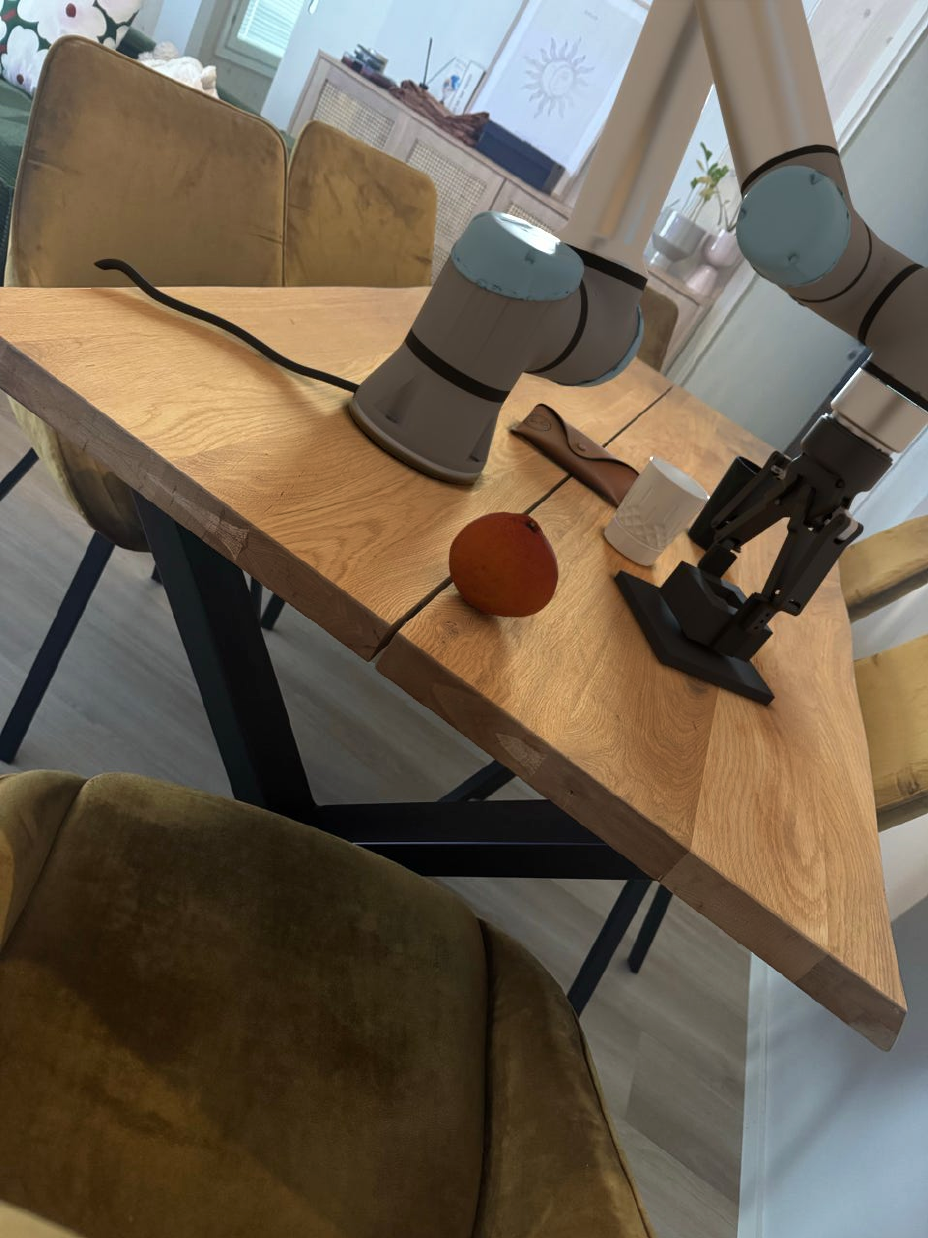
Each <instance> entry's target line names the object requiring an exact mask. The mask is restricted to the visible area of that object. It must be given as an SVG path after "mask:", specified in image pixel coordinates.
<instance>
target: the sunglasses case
mask: <svg viewBox="0 0 928 1238" xmlns="http://www.w3.org/2000/svg"><path fill="white" fill-rule="evenodd" d="M510 430H511V432H513V433H515V434H516V435H518V436H519V437H521V438H523V439H524V440H526V442H528V443H530V444H531V445H532V446H534V447H535V448H536V449H538V450H539V451H540V452H541V453H542V454H544V455H545V456H546V457H548V458H549V459H551V460H552V461H553V462H554V463H556V464H557V465H558V466H560V467H561V468H562V469H563V470H565V471H566V472H567V473H569V474H570V475H571V476H573V477H574V478H575V479H576V480H577V481H578V482H580V483H581V484H583V485H585V486H586V487H587V488H589V489H590V490H592V491H593V492H595V493H596V494H598V495H599V496H601V497H603V498H605V499H607V500H609V501H610V502H612V503H613V504H615V505H616V506H618V507H619V506H620V504H621V502H622V501H623V499H624V498H625V496H626V495H627V493H628V491H629V490H630V488H631V487H632V485H633V484H634V482H635V481H636V479H637V478H638V476H639V475H640V472H639V471H638V470H637V469H636V468H635V467H634V466H632V465H630V464H629V463H627V462H625V461H624V460H621V459H619V458H618V457H616V456H615V455H614V454H612V452H610V451H608V450H607V449H606V448H604V447H603V446H601V444H599V443H598V442H596V441H595V440H593V438H591V437H589V436H588V434H585V433H584V432H583V431H581V430H579V429H578V428H577V427H575V426H574V425H572V424H571V423H570V422H569V421H567V420H565V419H564V418H563V417H562V416H561V415H560V414H559V413H558V412H557V411H556V410H555V409H554V408H552V407H551V406H549V405H548V404H545V403H542V402H541V403H538V404H536V405H535V406H534V407H533V408H532V409H531V410H530V412H529V413H528V414H527V415H526V416H525V417H524V419H522V421H521V422H520V423H519V424H517V425H516V426H515V425H514V426H513V427H511V428H510Z"/></svg>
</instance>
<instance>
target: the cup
mask: <svg viewBox="0 0 928 1238" xmlns="http://www.w3.org/2000/svg"><path fill="white" fill-rule="evenodd" d="M762 468H763V467H761V466H760V465H758V464H757V463H756V462H753V461H752V460H750V459H749V458H746V457H744V456H742V455H736V456H735V457H734V459H733V460H732V462H731V463H730V465H729V467H728V469H726V472H725V473H724V474H723V476H722V478H721V479H720V480H719V482H718V484H717V485H716V487H715V488H714V490H713V491H712V493H711V495H709V497H710V499H709V500H708V502H707V503H706V504H705V505H704V506H703V507H702V509H701V510H700V511H699V512H698V513H699V514H697V515H696V516H697V517H696V518H695V520H693V523H692V524H691V525H690V527H689V529H688V531H687V535H688V536H689V538H690V539H691V540H692V541H693V542H694V543H695V544H696V545H698V546H699V547H700V548H701V549H702V550H704V551H705V552H706V551H707V550H708V549H709V548H710V546H711V545H712V544H713V543H714V536H715V534H716V532H715V529H714V528H712V527H711V522H712V520H713V519H714V518H715V517H716V516H717V515H718V514H719V512H720V511H721V510H722V509H723V508H724V507H725V506H726V505H727V504H728V503H729V502H730V501H731V500H732V499H733V498H734V497H735V496H736V495H737V494H738V493H739V492H740V491H741V490H742V489H743V488H744V487H745V486H746V485H747V484H748V483H749V482H750V481H751V480H752V479H753V478H754V477H755V476H756V475H757V474H758V473H759V472H760V471H761V469H762ZM727 522H729V523H730V522H731V521H730V520H727Z"/></svg>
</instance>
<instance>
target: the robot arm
mask: <svg viewBox="0 0 928 1238" xmlns="http://www.w3.org/2000/svg"><path fill="white" fill-rule="evenodd" d="M713 87H714V88H715V92H716V96H717V101H718V105H719V108H720V114H721V117H722V122H723V125H724V129H725V134H726V138H727V142H728V146H729V150H730V151H729V152H730V155H731V158H732V163H733V167H734V171H735V175H736V181H737V184H738V189H739V191H740V195H741V200H742V202H741V204H740V207H739V210H738V214H737V216H736V217H737V218H736V223H735V237H736V241H737V246H738V248H739V251H740V252H741V254H742V256H743V257H744V259H745V260H746V261H747V262H748V264H749V265H750V267H751V268H752V269H753V271H754V272H755V273H756V274H757V275H759V276H760V277H761V278H762V279H764V280H766V281H768V282H769V283H771V284H774V285H775V286H777V287H778V288H779V289H780V290H782V291H783V292H784V293H786V295H788V297H789V298H790V299H792V300H793V301H795V302H797V304H798V305H800V306H801V307H804V308H807V309H808V310H810V311H811V312H813V313H814V314H816V315H818V317H820V318H822V319H824V320H825V321H826V322H829V323H830V324H832V325H833V326H834V327H836V328H838V329H839V330H841V331H843V332H844V333H846V334H847V335H849V336H850V337H852V338H853V339H855V340H857V341H858V342H859V343H860V344H861V345H863V346H864V347H866V348H869V349H870V350H872V351H871V353H870V354H869V356H868V358H866V360H865V361H864V362H863V363H862V364H861V365H860V367H858V369H857V370H856V371H855V372H854V374H853V375H852V376H851V377H850V379H849V380H848V381H847V382H846V383H845V385H843V387H842V389H841V390H839V392H838V394H836V396H835V397H834V398H833V399H832V401H831V402H830V408H831V409H832V410H833V411H832V413H830V414H829V413H825V414H822V415H820V417H819V418H818V419H817V420H816V422H815V423H814V424H813V425H812V426H811V428H810V429H809V431H808V432H807V433H806V434H805V435H804V436H803V438H801V441H800V448H801V450H802V451H803V452H802V453H801V454H800V455H799V456H797V457H796V458H791V457H790V456H788V455H786V454H784V453H783V452H781V451H780V450H774V451H772V452H771V454H770V455H769V457H768V459H767V460H766V461H765V463H764V464H763V466H762V467H761V468H762V469H761V471H760V472H759V473H758V474H757V475H756V476H755V477H754V478H753V479H752V480H751V481H750V482H749V483H748V484H747V485H746V486H745V487H744V488H743V489H742V490H741V491H740V492H739V493H738V494H737V495H736V496H735V497H734V498H733V499H732V500H731V501H730V502H729V503H728V504H727V505H726V506H725V507H724V508H723V509H722V510H721V511H720V512H719V514H718V515H717V516H716V517H715V518H714V519H713V520H712V522H711V527H712V528H714V529H715V532H716V534H715V536H714V543H713V544H712V545H711V546H710V548H709V549H708V550H707V551H706V550H705V552H704V553H703V555H702V556H701V557H700V559H699V560H698V562H697V564H696V567H697V568H699V569H702V570H704V571H706V572H708V573H710V574H712V575H714V576H716V577H718V578H721V579H722V577H723V576H724V575H725V574H726V573H727V571H728V570H729V569H730V568H731V566H732V565H733V564H734V563H735V562H736V560H738V556H737V554H741V553H742V547H743V546H744V545H745V544H747V543H749V542H750V541H752V540H753V539H754V538H757V536H759V535H761V534H762V533H763V532H765V531H766V530H767V529H769V528H771V527H772V526H774V525H775V524H777V523H778V522H779V521H781V520H782V519H785V518H788V519H789V520H788V522H787V525H786V529H787V535H786V537H785V539H784V541H783V544H782V545H781V548H780V550H779V552H778V554H777V557H776V559H775V560H774V562H773V566H772V567H771V570H770V572H769V574H768V576H767V578H766V581H765V583H764V585H763V588H762V590H761V592H758V591H754V592H751V594H750V595H749V596H748V597H747V598H748V599H747V600H746V601H745V602H744V603H743V605H742V606H741V607H740V608H739V609H738V610H737V612H736V613H735V614H734V615H733V617H732V618H731V619H730V620H729V621H728V623H727V624H726V625H725V626H724V627H723V628H722V630H721V631H720V632H719V633H718V634H717V636H716V637H715V638H714V639H713V640H712V641H711V643H710V644H709V645H710V647H711V649H713V650H715V651H717V652H720V653H722V654H724V655H727V656H729V657H732V658H733V657H734V655H735V654H736V653H737V652H738V651H739V650H740V649H741V647H742V646H743V645H744V644H745V643H746V642H747V640H748V639H749V638H750V637H751V636H752V635H754V636H755V635H757V634H758V633H760V631H761V630H762V629H763V628H764V627H765V625H768V624H769V622H771V620H772V619H773V618H774V617H775V616H776V615H777V613H779V612H783V613H785V614H788V615H789V616H792V617H798V616H800V615H801V614H802V612H803V611H804V609H805V608H806V607H807V605H808V603H809V602H810V600H811V599H812V598H813V596H814V595H815V594H816V592H817V591H818V589H819V588H820V586H821V585H822V583H823V582H824V580H825V578H827V576H828V574H829V573H830V571H831V570H832V569H833V567H834V566H835V564H836V563H837V561H838V560H839V558H840V557H841V555H843V553H844V551H845V549H846V548H847V547H848V546H849V545H851V544H852V543H853V542H854V541H855V540H856V539H857V538H859V537H860V536H861V535H862V534H863V532H864V529H865V528H864V527H865V526H864V525H863V524H862V523H860V522H859V521H857V520H855V519H854V517H853V516H852V514H851V513H850V511H849V510H850V508H851V506H852V503H853V502H854V499H855V498H856V496H857V495H859V494H860V493H867V492H870V491H871V490H872V489H873V488H874V487H875V486H876V485H877V484H878V482H879V481H880V480H881V478H883V477H884V475H885V474H886V473H887V472H888V471H889V469H890V468H891V467H892V466H893V465H894V463H893V461H894V458H893V457H892V455H893V453H896V454H903V453H904V451H905V450H906V449H908V447H909V446H910V445H911V443H912V442H913V441H914V440H915V439H916V437H917V436H918V435H919V434H920V433H921V432H922V431H923V429H924V428H925V427H926V426H927V425H928V267H927V266H924V265H922V264H921V263H917V262H916V261H914V260H912V259H911V258H910V257H908V256H907V255H905V254H903V253H902V252H900V251H899V250H897V249H896V248H894V247H892V245H890V244H888V243H887V242H885V241H884V240H882V239H881V238H879V237H878V236H877V234H876V233H875V232H874V231H873V230H872V228H871V227H870V226H869V225H868V224H867V223H866V222H865V220H864V219H863V218H862V216H861V215H860V214H859V212H857V211H856V209H855V208H854V204H853V202H852V199H851V194H850V190H849V186H848V182H847V179H846V174H845V170H844V167H843V163H842V161H841V157H840V150H839V145H838V142H837V137H836V134H835V130H834V126H833V121H832V118H831V114H830V110H829V105H828V101H827V97H826V93H825V89H824V85H823V81H822V76H821V73H820V68H819V65H818V60H817V56H816V53H815V48H814V44H813V41H812V36H811V32H810V27H809V24H808V19H807V15H806V11H805V6H804V3H803V0H652V2H651V4H650V7H649V10H648V12H647V14H646V16H645V20H644V22H643V25H642V28H641V31H640V33H639V36H638V38H637V40H636V43H635V46H634V49H633V51H632V54H631V56H630V59H629V62H628V64H627V67H626V69H625V72H624V74H623V77H622V79H621V82H620V84H619V87H618V90H617V93H616V95H615V98H614V101H613V103H612V106H611V108H610V110H609V113H608V116H607V119H606V121H605V123H604V126H603V128H602V132H601V134H600V137H599V140H598V142H597V145H596V147H595V150H594V151H593V155H592V157H591V161H590V163H589V165H588V168H587V171H586V173H585V176H584V179H583V181H582V183H581V185H580V189H579V190H578V191H579V192H578V194H577V197H576V199H575V201H574V203H573V207H572V209H571V213H570V215H569V217H568V220H567V223H566V224H565V225H563V226H562V227H560V228H558V229H556V230H555V231H553V232H551V233H549V232H547V231H546V230H544V229H543V228H540V227H537V226H534V225H531V224H530V223H529V222H528V221H527V220H524V219H522V218H519V217H517V216H514V215H512V214H508V213H505V212H502V211H496V210H485V211H481V212H480V213H477V214H476V215H474V216H473V217H472V218H471V220H470V221H469V222H468V224H467V226H466V228H465V229H464V231H463V232H462V234H461V235H460V237H459V238H458V239H456V241H455V242H454V243H453V246H452V247H451V249H450V253H449V256H448V257H447V259H446V261H445V263H444V265H443V266H442V268H441V271H440V272H439V274H438V276H437V278H436V280H435V281H434V283H433V285H432V287H431V290H430V291H429V293H428V294H427V296H426V298H425V300H424V303H422V306H421V307H420V310H419V311H418V313H417V315H416V317H415V319H414V320H413V323H412V325H411V327H410V329H409V330H408V332H407V334H406V336H405V337H404V339H403V341H402V342H401V344H400V346H399V347H398V348H397V349H396V350H395V351H394V352H393V353H392V354H390V355H389V356H388V358H386V359H385V360H384V361H383V362H382V363H381V364H380V365H379V366H377V368H376V369H374V371H372V372H371V373H370V374H369V375H368V376H367V377H366V378H365V379H363V381H361V383H360V384H359V383H356V382H354V381H350V380H348V379H345V378H342V377H340V376H337V375H334V374H331V373H328V372H326V371H322V370H319V369H316V368H312V367H310V366H306V365H303V364H301V363H298V362H296V361H293V360H292V359H290V358H288V357H286V356H285V355H282V354H281V353H279V352H277V351H276V350H275V349H273V348H272V347H270V346H269V345H268V344H266V343H264V342H263V341H262V340H261V339H260V338H258V337H256V336H254V335H253V334H252V333H250V332H248V331H247V330H245V328H242V327H240V326H239V325H237V324H235V323H233V322H231V321H230V320H228V319H225V318H223V317H221V316H219V315H216V314H215V313H212V312H210V311H207V310H205V309H202V308H199V307H197V306H194V305H192V304H188V303H186V302H184V301H181V300H179V299H176V298H175V297H172V296H170V295H168V294H166V293H165V292H163V291H161V290H160V289H158V288H156V287H155V286H154V285H152V284H151V283H150V282H149V281H147V280H146V279H145V277H144V276H143V275H142V274H141V273H140V272H139V271H137V270H136V269H135V268H134V267H133V266H132V265H131V264H129V263H128V262H126V261H123V260H121V259H118V258H104V259H100V260H97V261H95V262H93V265H94V266H95V267H96V268H98V269H100V270H103V271H111V270H114V271H119V272H121V273H123V274H124V275H125V276H126V277H128V278H129V280H131V281H132V283H134V284H135V285H136V286H137V287H138V288H139V289H140V290H141V291H142V292H143V293H144V294H146V295H147V296H148V297H149V298H151V299H152V300H154V301H156V302H158V303H159V304H162V305H164V306H165V307H167V308H170V309H172V310H175V311H177V312H179V313H181V314H183V315H187V316H189V317H192V318H195V319H197V320H200V321H203V322H205V323H208V324H210V325H213V326H215V327H217V328H219V329H221V330H223V331H225V332H226V333H229V334H231V335H233V336H235V337H236V338H238V339H240V340H241V341H242V342H244V343H246V344H248V345H249V346H250V347H252V348H253V349H255V350H256V351H257V352H259V353H260V354H262V355H263V356H264V357H266V358H267V359H269V360H271V362H274V363H275V364H277V365H279V366H280V367H282V368H284V369H286V370H287V371H290V372H292V373H294V374H297V375H300V376H303V377H306V378H310V379H312V380H316V381H320V382H322V383H325V384H328V385H330V386H333V387H337V388H339V389H342V390H344V391H347V392H350V393H352V396H351V398H350V400H349V402H348V410H349V413H350V416H351V417H352V418H353V420H354V422H355V423H356V424H357V426H358V427H359V428H360V429H361V430H362V431H363V432H364V433H365V435H367V436H368V438H370V439H371V440H372V441H374V443H376V444H377V445H378V446H379V447H380V448H382V449H383V450H385V451H386V452H388V453H389V454H391V455H392V456H394V457H395V458H397V459H398V460H400V461H401V462H403V463H404V464H406V465H408V466H410V467H412V468H414V469H415V470H417V471H419V472H421V473H424V474H426V475H428V476H430V477H433V478H436V479H437V480H441V481H443V482H448V483H452V484H457V485H470V484H473V483H475V482H476V481H477V480H478V479H479V478H480V476H481V474H482V472H483V471H484V469H485V466H486V465H487V462H488V459H489V455H490V451H491V447H492V443H493V439H494V436H495V431H496V428H497V423H498V419H499V416H500V411H501V409H502V407H503V405H505V402H506V400H507V398H508V397H509V395H510V394H511V393H512V391H513V389H514V388H515V386H516V384H517V383H518V381H520V380H519V379H520V378H521V376H522V375H523V374H527V375H530V376H533V377H538V378H541V379H544V380H547V381H550V382H551V383H555V384H557V385H558V386H562V387H570V388H571V387H573V388H575V387H577V388H593V387H597V386H600V385H603V384H606V383H607V382H610V381H612V380H614V379H616V378H617V377H618V376H619V375H621V374H622V373H623V372H624V371H625V370H626V369H627V368H628V367H629V366H630V365H631V363H632V362H633V360H634V359H635V357H636V355H637V353H638V352H639V349H640V347H641V344H642V341H643V337H644V331H645V329H644V328H645V322H644V319H643V317H642V316H643V315H642V308H641V305H640V303H639V302H640V300H641V298H642V296H643V293H644V291H645V288H646V286H647V283H648V281H649V278H650V274H649V272H648V269H647V266H646V263H645V260H644V253H645V251H646V249H647V245H648V243H649V241H650V239H651V236H652V234H653V231H654V230H655V227H656V224H657V222H658V219H659V217H660V215H661V212H662V210H663V207H664V205H665V203H666V200H667V197H668V196H669V192H670V190H671V188H672V186H673V184H674V181H675V178H676V177H677V173H678V171H679V169H680V166H681V164H682V162H683V159H684V157H685V155H686V152H687V150H688V147H689V145H690V142H691V140H692V138H693V135H694V133H695V131H696V129H697V125H698V123H699V121H700V119H701V116H702V113H703V111H704V108H705V107H706V104H707V102H708V99H709V97H710V94H711V92H712V89H713ZM727 520H730V521H731V522H730V523H729V522H727ZM734 552H735V553H737V554H735V553H734ZM777 591H778V593H777Z"/></svg>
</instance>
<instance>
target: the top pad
mask: <svg viewBox="0 0 928 1238" xmlns="http://www.w3.org/2000/svg"><path fill="white" fill-rule="evenodd" d="M659 587H660V589H659V590H658V591H659V593H660V595H661V596H662V598H663V599H664V601H665V602H666V604H667V606H668V607H669V609H670V610H671V612H672V614H673V615H674V617H675V618H676V620H677V622H678V623H679V625H680V626H681V628H682V630H683V631H684V633H685V634H686V636H687V637H688V638H690V639H692V640H695V641H697V642H699V643H702V644H704V645H706V646H709V647H710V645H709V644H710V643H711V641H712V640H713V639H714V638H715V637H716V636H717V634H718V633H719V632H720V631H721V630H722V628H723V627H724V626H725V625H726V624H727V623H728V621H729V620H730V619H731V618H732V617H733V615H734V614H735V613H736V612H737V610H738V609H739V608H740V607H741V606H742V605H743V603H744V602H745V601H746V600H747V599H748V597H747V595H746V594H745V593H744V591H743V590H742V589H741V587H739V586H738V585H735V584H733V583H731V582H729V581H726V580H724V579H723V578H722V577H721V578H718V577H716V576H714V575H712V574H710V573H708V572H706V571H704V570H702V569H699V568H697V566H695V565H694V564H691V563H689V562H687V561H685V560H683V559H682V560H680V562H679V563H678V564H677V566H676V567H674V569H673V571H672V572H671V573H670V574H669V576H668V577H667V578H666V579H665V581H664V582H663V583H662V585H661V586H659ZM717 596H718V597H721V598H723V599H725V600H726V602H727V603H728V605H727V604H725V603H723V602H720V601H719V599H718V598H717ZM772 635H774V632H773V630H772V629H771V628H770V626H769V625H768V624H767V625H765V627H764V628H763V629H762V630H761V631H760V633H758V634H757V635H755V636H754V635H752V636H751V637H750V638H749V639H748V640H747V642H746V643H745V644H744V645H743V646H742V647H741V649H740V650H739V651H738V652H737V653H736V654H735V655H734V657H735V658H737V659H739V660H742V661H744V662H746V663H748V662H749V660H750V661H751V660H752V658H753V657H754V656H755V655H756V654H757V653H758V652H759V650H760V649H761V648H762V647H763V646H764V645H765V644H766V642H768V640H769V639H770V638H771V637H772Z"/></svg>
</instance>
